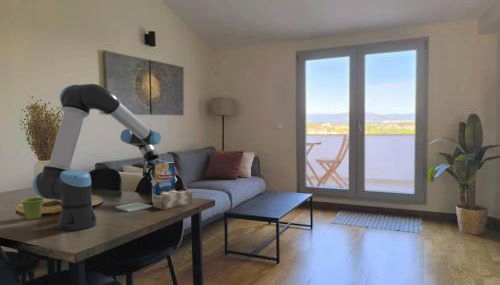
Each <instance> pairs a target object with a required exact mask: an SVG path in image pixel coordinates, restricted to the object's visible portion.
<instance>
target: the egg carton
mask: <svg viewBox="0 0 500 285" xmlns="http://www.w3.org/2000/svg"><path fill="white" fill-rule="evenodd" d="M192 194H193V193H192V190H178V193H173V194H167V195H162V196H158V195H153V202H152V208H156V209H160V210H163V209H164V210H167V209H168V208H169V209H172V208H177V207H182V206H186V205H190V204H191V203H192V204H193V202H192V199H193V198H192V196H193V195H192Z"/></svg>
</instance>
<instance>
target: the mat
mask: <svg viewBox="0 0 500 285" xmlns="http://www.w3.org/2000/svg"><path fill="white" fill-rule="evenodd" d="M150 207H151V208H153V205H151V204H147V203H144V202H140V201H139V202H138V201H137V202H133V203H132V202H131V203H126V204H123V205H122V204H121V205H116V206H115V208H116V209H117V210H121V211H125V212H128V213H131V212H136V211H139V210H140V211H141V210H145V209H150Z"/></svg>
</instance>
